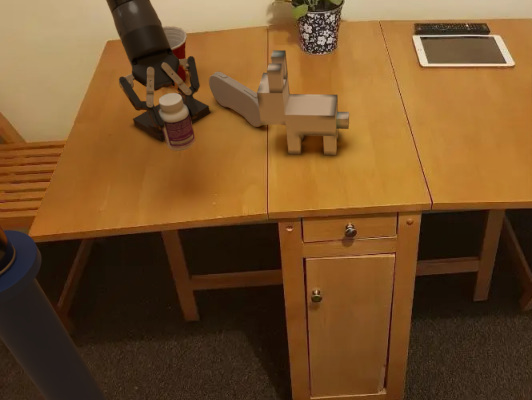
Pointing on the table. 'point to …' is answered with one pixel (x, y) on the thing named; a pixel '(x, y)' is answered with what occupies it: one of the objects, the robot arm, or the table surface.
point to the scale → (147, 126)
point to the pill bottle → (176, 122)
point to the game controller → (235, 97)
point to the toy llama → (298, 109)
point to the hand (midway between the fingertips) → (178, 122)
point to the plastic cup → (177, 45)
